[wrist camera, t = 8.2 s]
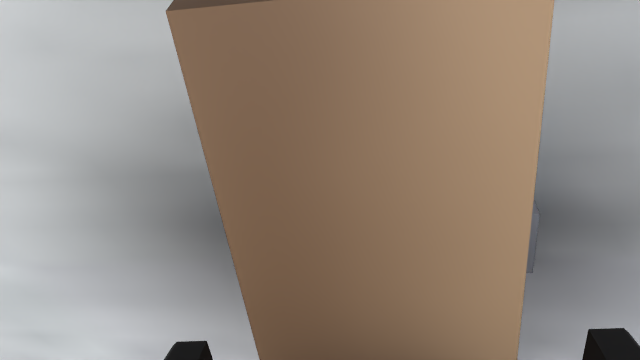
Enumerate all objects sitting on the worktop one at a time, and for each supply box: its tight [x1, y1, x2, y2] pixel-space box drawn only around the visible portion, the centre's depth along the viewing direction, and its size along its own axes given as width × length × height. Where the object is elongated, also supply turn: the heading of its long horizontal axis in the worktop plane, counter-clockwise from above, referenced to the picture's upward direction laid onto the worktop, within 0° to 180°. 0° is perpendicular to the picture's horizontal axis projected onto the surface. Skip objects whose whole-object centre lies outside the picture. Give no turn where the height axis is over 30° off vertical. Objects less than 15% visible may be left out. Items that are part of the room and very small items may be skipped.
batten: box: [166, 0, 554, 360], centre depth 12 cm, size 4×16×6 cm, turn 7°
